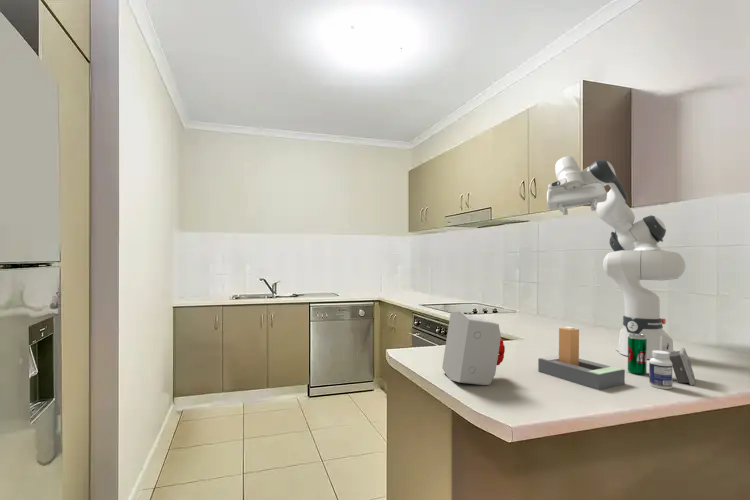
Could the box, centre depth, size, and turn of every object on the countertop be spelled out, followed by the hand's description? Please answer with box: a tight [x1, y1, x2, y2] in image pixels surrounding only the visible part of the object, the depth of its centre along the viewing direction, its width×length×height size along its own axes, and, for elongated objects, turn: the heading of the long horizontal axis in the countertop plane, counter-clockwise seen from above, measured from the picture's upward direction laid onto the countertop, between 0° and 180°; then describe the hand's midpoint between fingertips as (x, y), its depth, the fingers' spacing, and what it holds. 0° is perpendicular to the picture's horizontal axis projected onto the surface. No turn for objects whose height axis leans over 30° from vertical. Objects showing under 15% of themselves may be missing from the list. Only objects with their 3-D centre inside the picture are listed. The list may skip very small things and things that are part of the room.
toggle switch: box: [537, 354, 626, 391], centre depth 126 cm, size 12×20×4 cm, turn 29°
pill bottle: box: [648, 350, 673, 390], centre depth 118 cm, size 5×5×10 cm
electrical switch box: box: [441, 310, 506, 386], centre depth 123 cm, size 15×15×20 cm
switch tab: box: [558, 326, 580, 366], centre depth 129 cm, size 4×4×13 cm
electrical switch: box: [669, 347, 696, 386], centre depth 124 cm, size 9×5×9 cm, turn 141°
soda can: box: [627, 334, 648, 376], centre depth 131 cm, size 5×5×12 cm
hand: (579, 211), depth 151 cm, fingers open, 8 cm apart
